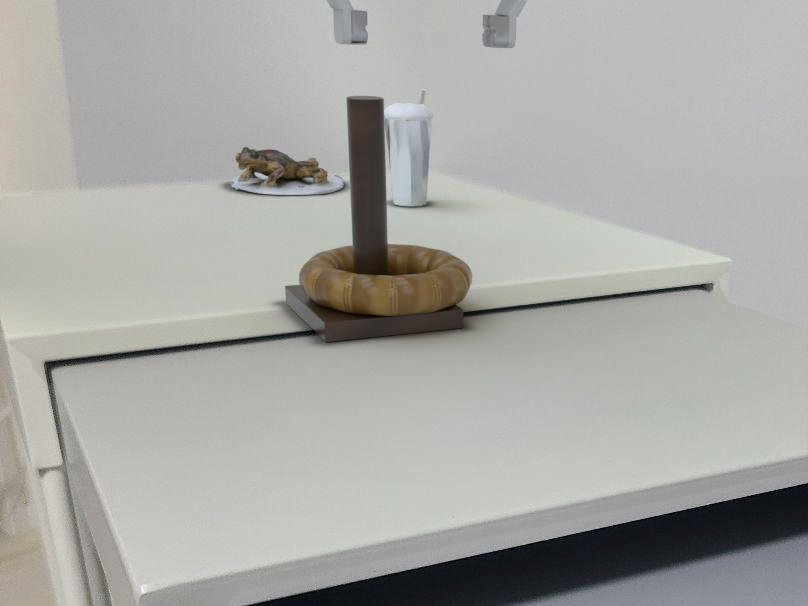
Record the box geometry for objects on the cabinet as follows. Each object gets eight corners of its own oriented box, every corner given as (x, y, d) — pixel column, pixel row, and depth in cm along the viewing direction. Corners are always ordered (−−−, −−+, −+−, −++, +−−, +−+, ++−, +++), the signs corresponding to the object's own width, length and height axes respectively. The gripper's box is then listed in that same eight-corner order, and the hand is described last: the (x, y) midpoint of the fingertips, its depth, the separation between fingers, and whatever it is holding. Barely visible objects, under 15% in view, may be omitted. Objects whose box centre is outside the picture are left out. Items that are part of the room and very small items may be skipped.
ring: (330, 327, 63) (328, 287, 62) (283, 282, 71) (280, 246, 70) (497, 311, 67) (498, 273, 66) (434, 270, 76) (433, 236, 75)
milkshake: (446, 201, 105) (445, 91, 100) (418, 210, 101) (416, 95, 96) (406, 196, 107) (404, 87, 102) (376, 204, 102) (373, 91, 98)
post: (325, 342, 64) (312, 107, 58) (285, 303, 71) (270, 89, 65) (463, 327, 68) (464, 105, 62) (412, 292, 75) (409, 89, 69)
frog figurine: (267, 200, 102) (263, 158, 100) (207, 181, 110) (203, 141, 108) (367, 189, 109) (366, 150, 107) (304, 172, 117) (302, 134, 115)
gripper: (569, -207, 64) (556, 45, 71) (224, -255, 56) (245, 37, 62) (623, -219, 59) (603, 53, 66) (254, -274, 51) (273, 46, 57)
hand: (427, 46), depth 64 cm, fingers open, 8 cm apart
